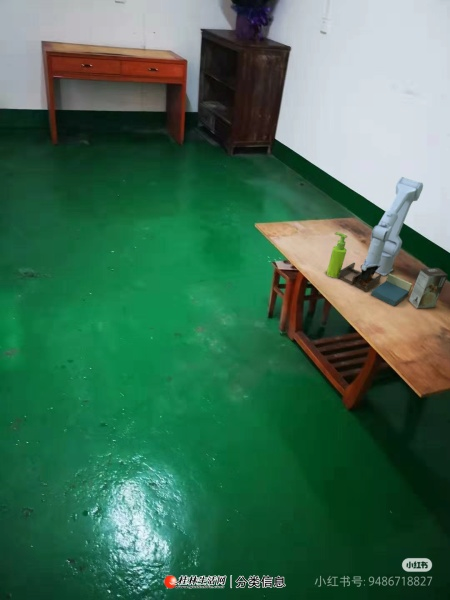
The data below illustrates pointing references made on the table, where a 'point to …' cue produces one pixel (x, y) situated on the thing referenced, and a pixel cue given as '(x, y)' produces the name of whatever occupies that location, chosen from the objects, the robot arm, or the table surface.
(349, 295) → the table surface
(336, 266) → the soap dispenser
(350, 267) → the shelf rack
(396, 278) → the sill
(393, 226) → the robot arm
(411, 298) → the coffee box
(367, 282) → the bottle
